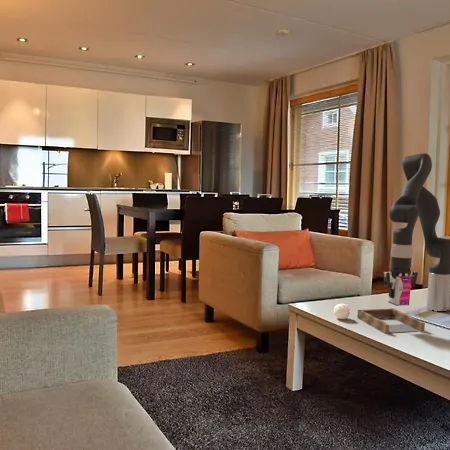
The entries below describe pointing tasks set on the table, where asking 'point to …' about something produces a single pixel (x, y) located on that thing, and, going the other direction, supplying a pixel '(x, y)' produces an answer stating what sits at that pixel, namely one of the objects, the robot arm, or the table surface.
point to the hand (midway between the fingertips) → (399, 297)
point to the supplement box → (401, 291)
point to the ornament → (341, 311)
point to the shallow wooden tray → (373, 314)
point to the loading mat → (401, 328)
